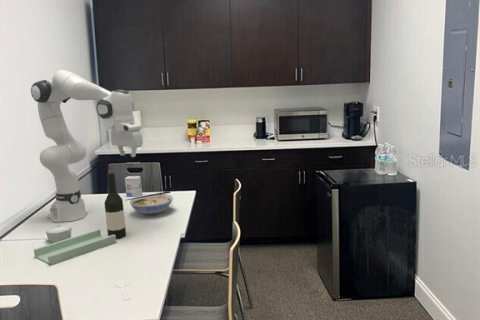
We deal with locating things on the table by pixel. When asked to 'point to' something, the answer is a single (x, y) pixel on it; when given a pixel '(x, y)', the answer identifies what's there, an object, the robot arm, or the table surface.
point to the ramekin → (58, 233)
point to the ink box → (133, 186)
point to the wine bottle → (114, 210)
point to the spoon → (122, 287)
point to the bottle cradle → (73, 247)
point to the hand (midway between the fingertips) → (127, 156)
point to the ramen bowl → (151, 203)
